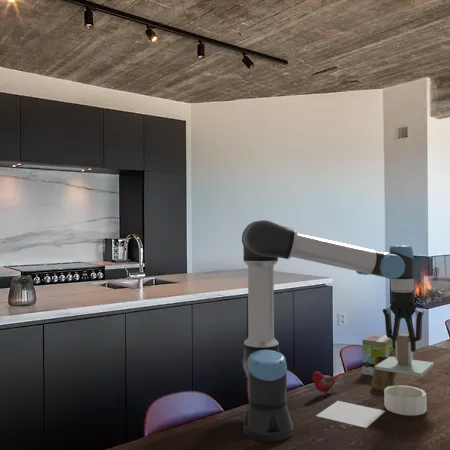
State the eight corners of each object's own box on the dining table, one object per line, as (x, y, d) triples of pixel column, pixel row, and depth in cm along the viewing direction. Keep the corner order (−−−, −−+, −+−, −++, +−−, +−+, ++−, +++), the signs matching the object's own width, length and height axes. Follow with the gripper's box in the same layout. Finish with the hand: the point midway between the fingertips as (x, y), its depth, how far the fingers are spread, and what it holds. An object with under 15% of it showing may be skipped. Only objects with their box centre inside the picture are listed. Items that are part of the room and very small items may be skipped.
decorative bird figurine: (309, 399, 174) (308, 371, 174) (338, 388, 185) (337, 362, 185) (315, 401, 171) (314, 373, 172) (344, 390, 183) (344, 364, 183)
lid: (374, 369, 161) (374, 336, 161) (390, 359, 173) (389, 328, 173) (421, 376, 152) (420, 341, 152) (433, 365, 164) (432, 333, 164)
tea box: (386, 378, 197) (385, 342, 198) (362, 374, 203) (361, 339, 203) (394, 368, 210) (393, 335, 210) (371, 365, 216) (370, 332, 216)
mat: (315, 417, 157) (315, 415, 157) (337, 402, 170) (337, 400, 170) (366, 429, 147) (366, 427, 147) (385, 412, 160) (385, 410, 160)
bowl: (379, 411, 161) (379, 393, 161) (392, 400, 171) (392, 383, 172) (419, 419, 153) (419, 400, 153) (430, 407, 164) (430, 389, 164)
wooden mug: (394, 395, 176) (393, 346, 176) (366, 386, 188) (365, 339, 188) (410, 391, 180) (409, 343, 181) (382, 382, 192) (381, 337, 192)
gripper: (431, 290, 161) (433, 361, 161) (382, 288, 171) (384, 354, 171) (424, 293, 155) (426, 366, 155) (374, 290, 165) (376, 358, 165)
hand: (404, 359), depth 163 cm, fingers closed on lid, 3 cm apart
